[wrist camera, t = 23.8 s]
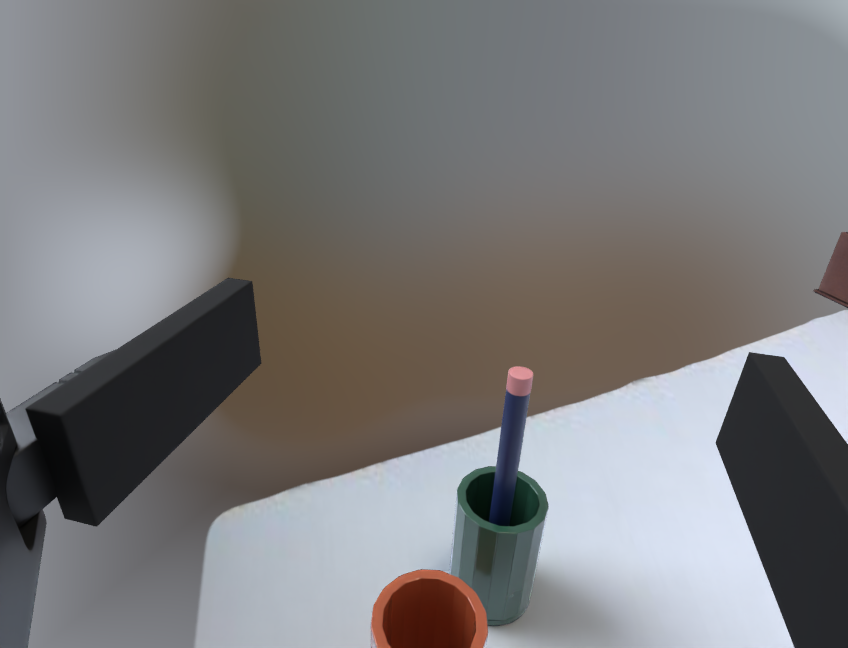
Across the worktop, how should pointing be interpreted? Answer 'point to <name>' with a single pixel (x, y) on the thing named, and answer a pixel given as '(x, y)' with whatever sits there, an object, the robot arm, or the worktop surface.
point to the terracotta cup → (428, 613)
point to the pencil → (510, 444)
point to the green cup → (498, 544)
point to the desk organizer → (837, 274)
